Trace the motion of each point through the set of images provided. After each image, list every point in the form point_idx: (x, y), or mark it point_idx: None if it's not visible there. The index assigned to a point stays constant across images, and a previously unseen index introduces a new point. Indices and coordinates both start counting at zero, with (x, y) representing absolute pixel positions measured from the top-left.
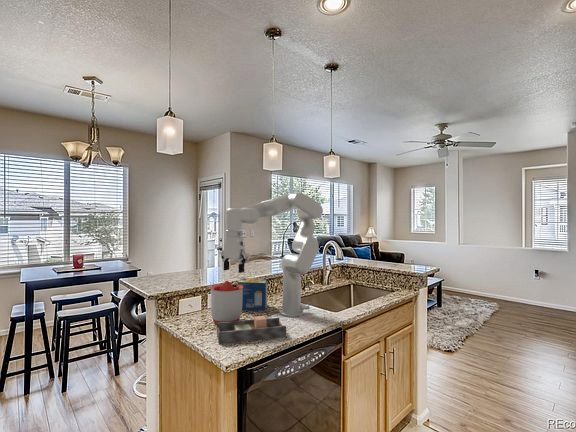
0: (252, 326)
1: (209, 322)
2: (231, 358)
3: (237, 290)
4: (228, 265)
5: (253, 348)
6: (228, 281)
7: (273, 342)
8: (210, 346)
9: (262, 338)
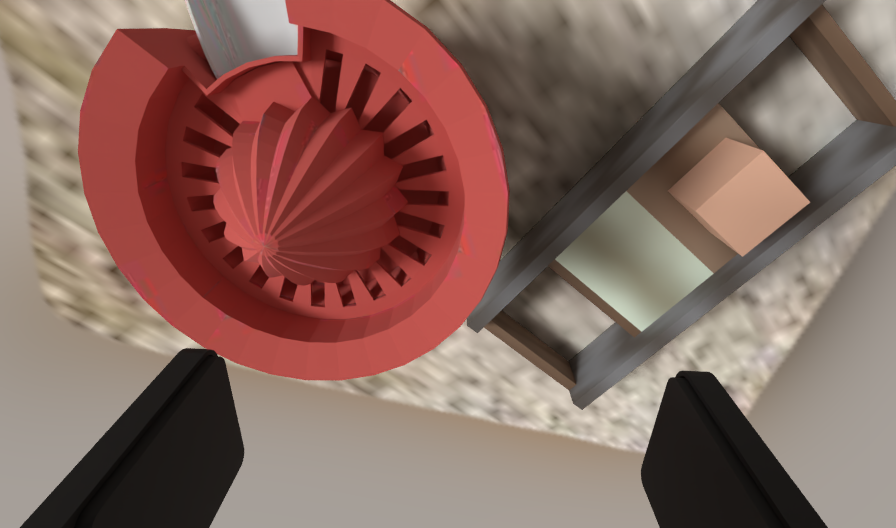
0: (662, 204)
1: None
2: None
3: (499, 230)
4: (171, 449)
5: (745, 329)
6: (287, 230)
7: (819, 226)
8: (554, 403)
9: None
